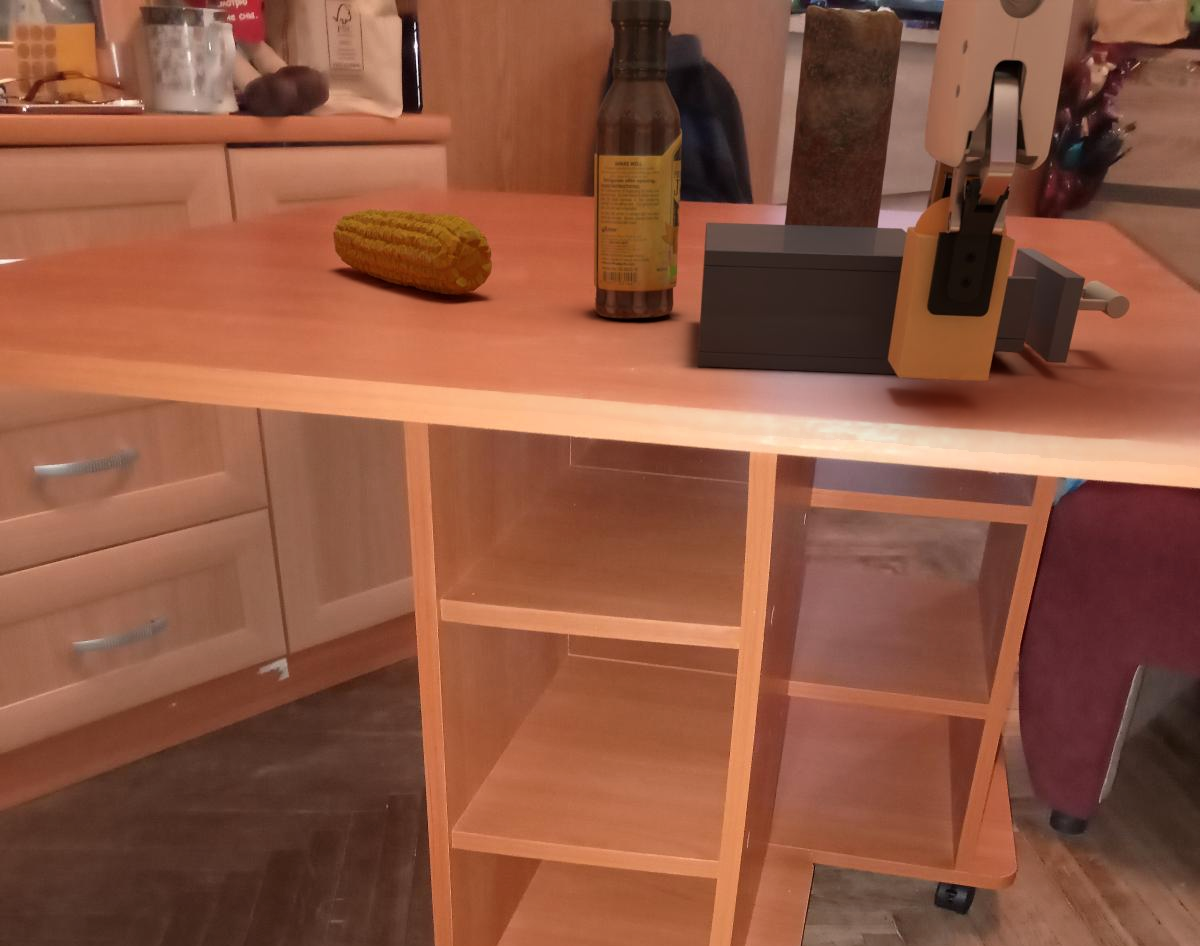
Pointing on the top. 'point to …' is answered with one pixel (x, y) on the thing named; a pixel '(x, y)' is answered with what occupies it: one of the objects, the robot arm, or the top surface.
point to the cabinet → (799, 297)
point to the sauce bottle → (637, 169)
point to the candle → (843, 117)
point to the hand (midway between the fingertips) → (948, 302)
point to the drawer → (1049, 306)
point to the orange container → (941, 339)
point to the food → (415, 249)
